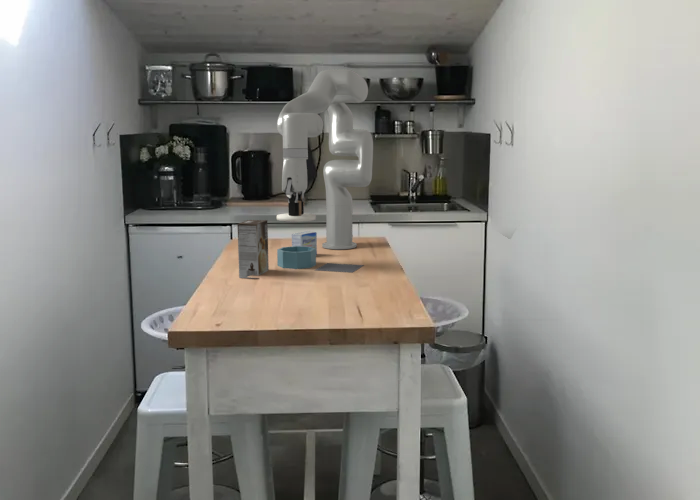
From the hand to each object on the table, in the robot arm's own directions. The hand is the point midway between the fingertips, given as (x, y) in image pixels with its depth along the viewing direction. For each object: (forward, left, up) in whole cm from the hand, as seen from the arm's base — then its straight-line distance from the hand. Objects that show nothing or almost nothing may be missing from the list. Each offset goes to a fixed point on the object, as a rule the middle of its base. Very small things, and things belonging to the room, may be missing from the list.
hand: (296, 214), depth 221 cm
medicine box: (-17, -4, -17) cm, 24 cm away
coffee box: (+14, -8, -17) cm, 24 cm away
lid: (0, 0, -2) cm, 2 cm away
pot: (0, 0, -17) cm, 17 cm away
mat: (0, +14, -17) cm, 22 cm away
